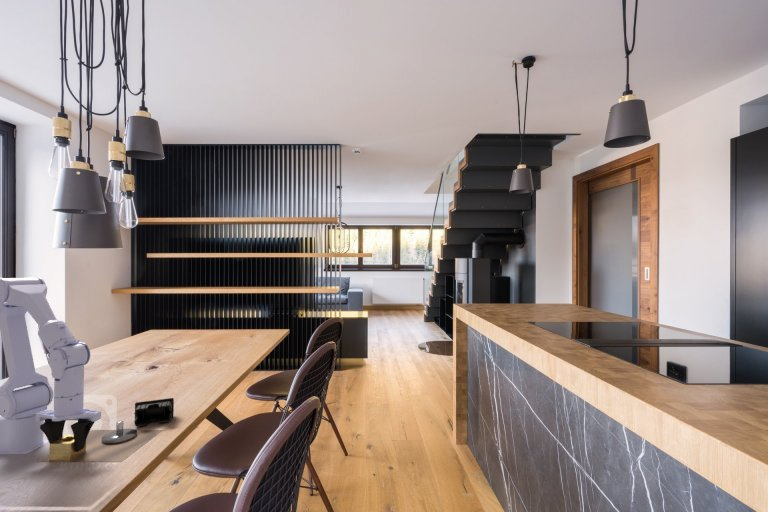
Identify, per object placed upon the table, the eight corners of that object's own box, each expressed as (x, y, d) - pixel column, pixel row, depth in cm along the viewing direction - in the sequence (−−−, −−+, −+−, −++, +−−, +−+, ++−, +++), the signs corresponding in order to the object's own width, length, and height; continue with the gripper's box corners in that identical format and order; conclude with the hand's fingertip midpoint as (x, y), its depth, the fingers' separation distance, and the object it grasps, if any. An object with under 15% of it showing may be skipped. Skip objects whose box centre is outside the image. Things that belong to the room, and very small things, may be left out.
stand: (94, 444, 103) (94, 428, 103) (114, 431, 111) (114, 416, 111) (124, 444, 103) (125, 428, 103) (143, 431, 111) (143, 416, 111)
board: (36, 464, 94) (36, 461, 94) (92, 431, 112) (92, 429, 112) (121, 464, 94) (121, 461, 94) (163, 432, 112) (163, 429, 112)
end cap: (173, 417, 123) (174, 395, 124) (172, 425, 117) (172, 402, 117) (136, 422, 119) (136, 399, 119) (132, 431, 113) (133, 407, 113)
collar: (49, 460, 95) (49, 443, 95) (65, 450, 100) (66, 434, 100) (70, 460, 95) (70, 443, 95) (85, 450, 100) (86, 434, 100)
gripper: (24, 399, 93) (23, 457, 93) (86, 399, 93) (85, 457, 93) (49, 389, 100) (48, 444, 100) (107, 390, 100) (106, 444, 100)
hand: (68, 449), depth 97 cm, fingers closed on collar, 5 cm apart
